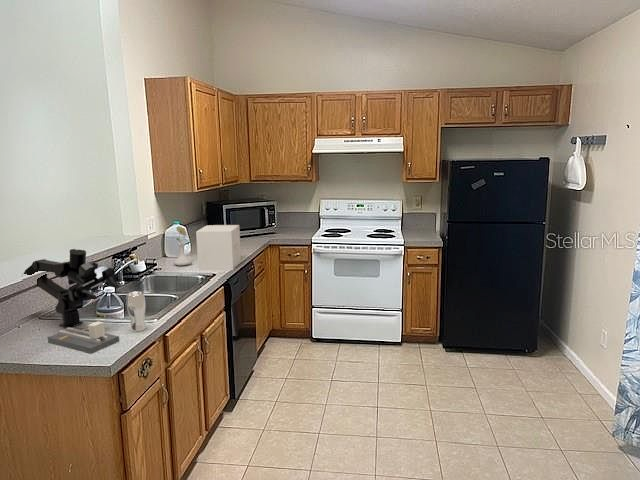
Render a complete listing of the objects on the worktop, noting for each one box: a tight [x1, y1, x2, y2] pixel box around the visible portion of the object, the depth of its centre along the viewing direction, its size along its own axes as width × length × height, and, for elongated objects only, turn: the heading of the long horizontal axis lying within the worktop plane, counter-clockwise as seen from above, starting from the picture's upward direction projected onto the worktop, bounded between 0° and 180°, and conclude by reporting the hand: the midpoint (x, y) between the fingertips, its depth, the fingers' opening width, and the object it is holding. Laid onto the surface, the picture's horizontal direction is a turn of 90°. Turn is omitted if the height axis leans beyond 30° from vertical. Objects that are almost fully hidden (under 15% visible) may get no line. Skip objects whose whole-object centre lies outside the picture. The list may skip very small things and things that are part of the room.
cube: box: [195, 224, 242, 271], centre depth 289 cm, size 25×21×24 cm
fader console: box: [47, 326, 120, 354], centre depth 173 cm, size 24×12×3 cm, turn 64°
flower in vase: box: [173, 225, 193, 266], centre depth 292 cm, size 13×11×25 cm
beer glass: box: [126, 291, 147, 333], centre depth 184 cm, size 7×7×15 cm
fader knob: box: [88, 320, 106, 339], centre depth 169 cm, size 3×4×6 cm
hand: (106, 292), depth 176 cm, fingers open, 9 cm apart
